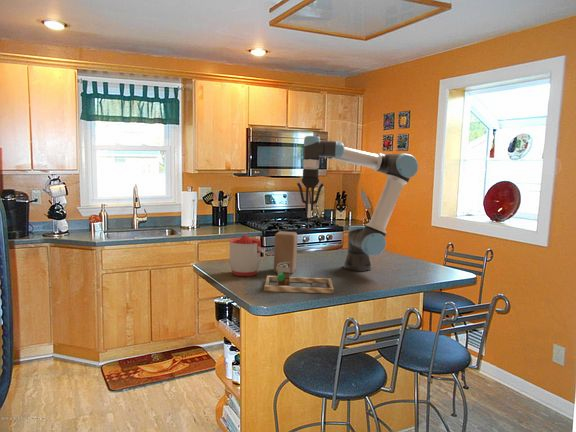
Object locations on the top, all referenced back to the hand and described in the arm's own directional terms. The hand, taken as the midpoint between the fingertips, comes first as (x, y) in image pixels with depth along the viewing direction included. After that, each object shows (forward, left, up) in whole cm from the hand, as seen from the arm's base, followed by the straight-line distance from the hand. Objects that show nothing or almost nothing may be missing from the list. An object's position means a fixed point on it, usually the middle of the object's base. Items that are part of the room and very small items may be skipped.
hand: (309, 217), depth 218 cm
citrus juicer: (+30, 0, -30) cm, 42 cm away
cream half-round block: (+12, +19, -30) cm, 37 cm away
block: (+11, -9, -30) cm, 33 cm away
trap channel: (+4, +19, -29) cm, 35 cm away
